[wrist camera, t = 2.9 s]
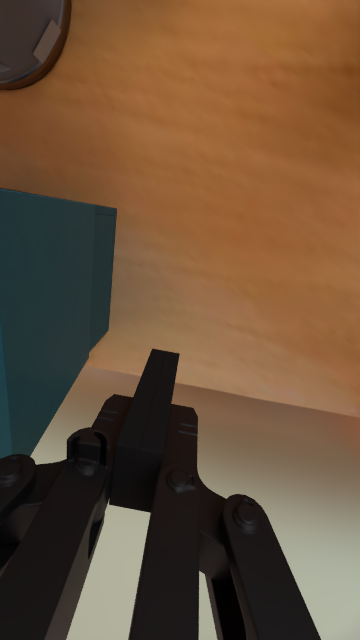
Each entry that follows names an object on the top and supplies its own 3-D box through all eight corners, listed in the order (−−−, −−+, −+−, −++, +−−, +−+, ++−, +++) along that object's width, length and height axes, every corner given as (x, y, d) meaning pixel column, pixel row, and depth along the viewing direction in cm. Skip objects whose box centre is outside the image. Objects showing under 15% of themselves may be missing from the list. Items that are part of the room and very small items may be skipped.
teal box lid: (0, 481, 15) (14, 482, 15) (-35, 182, 10) (-12, 186, 10) (81, 357, 29) (88, 358, 29) (86, 203, 23) (95, 204, 23)
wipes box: (11, 312, 36) (-33, 333, 29) (2, 188, 31) (-55, 178, 24) (108, 330, 36) (86, 355, 29) (117, 208, 30) (92, 204, 24)
